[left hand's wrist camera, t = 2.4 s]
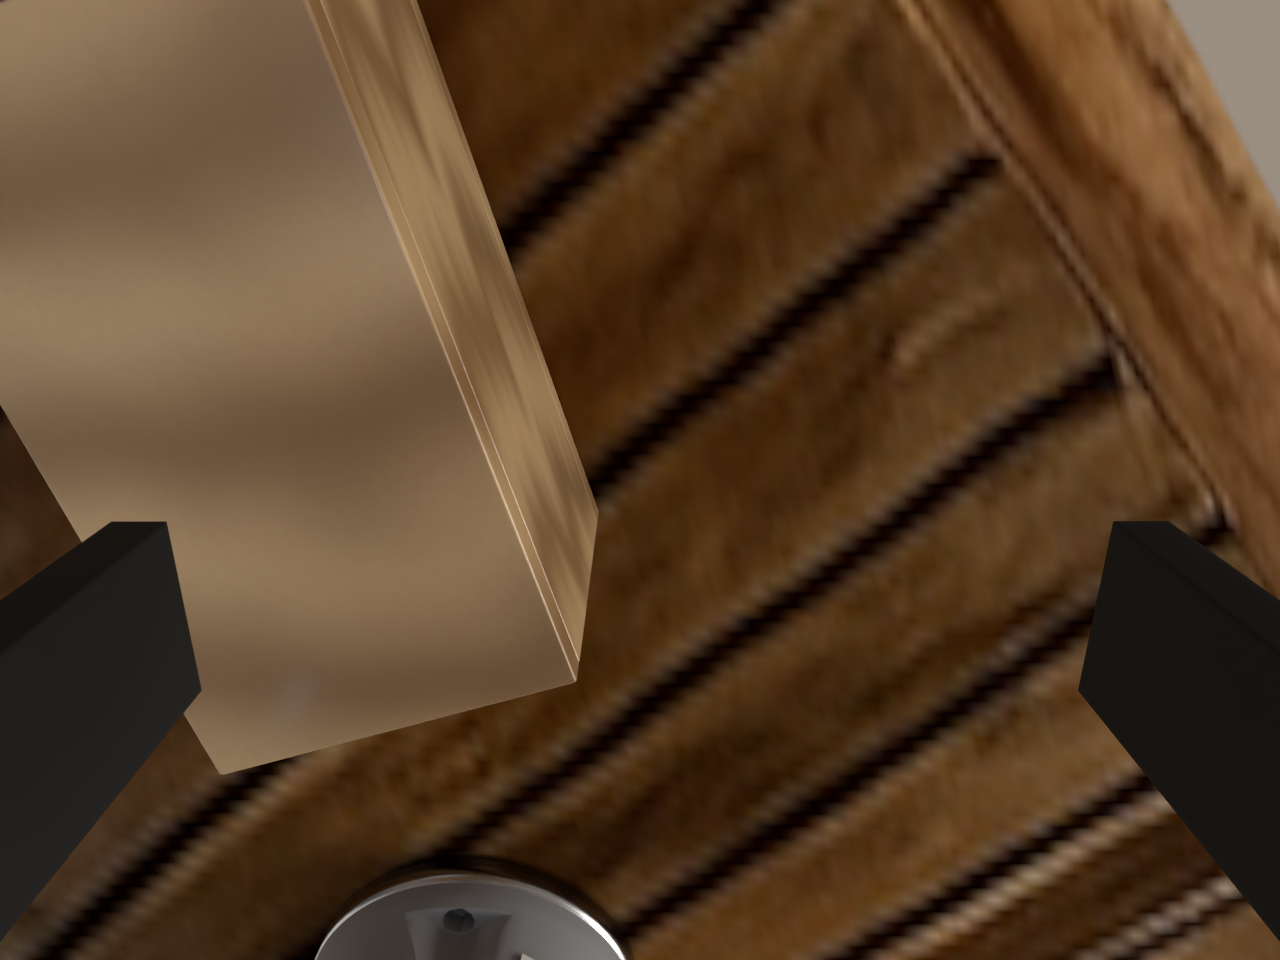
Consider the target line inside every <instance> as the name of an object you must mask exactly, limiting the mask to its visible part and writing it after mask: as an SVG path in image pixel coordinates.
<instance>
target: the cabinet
mask: <svg viewBox="0 0 1280 960" xmlns="http://www.w3.org/2000/svg"><path fill="white" fill-rule="evenodd" d="M0 405H1V407H2V409H3V410H4V412H5V414H6V415H7V417H8V419H9V420H10V422H11V424H12V426H13V427H14V429H15V431H16V432H17V434H18V436H19V437H20V439H21V441H22V442H23V444H24V446H25V447H26V449H27V451H28V452H29V454H30V456H31V457H32V459H33V461H34V463H35V464H36V466H37V468H38V469H39V471H40V473H41V474H42V476H43V478H44V479H45V481H46V483H47V484H48V486H49V488H50V489H51V491H52V493H53V494H54V496H55V498H56V500H57V501H58V503H59V505H60V506H61V508H62V510H63V511H64V513H65V515H66V516H67V518H68V520H69V521H70V523H71V525H72V526H73V528H74V530H75V532H76V533H77V535H78V537H79V538H80V540H81V542H83V541H85V540H86V539H87V538H89V537H90V536H92V535H93V534H94V533H96V532H97V531H99V530H100V529H101V528H103V527H104V526H106V525H107V524H108V523H110V522H111V521H167V526H168V531H169V535H170V540H171V545H172V550H173V555H174V559H175V564H176V569H177V574H178V579H179V583H180V588H181V593H182V598H183V602H184V607H185V612H186V617H187V622H188V626H189V631H190V636H191V641H192V646H193V650H194V655H195V660H196V665H197V670H198V674H199V679H200V684H201V689H202V691H201V692H200V693H199V695H198V696H197V697H196V698H195V700H194V701H193V702H192V703H191V704H190V706H189V707H188V708H187V709H186V711H185V712H184V715H185V717H186V718H187V720H188V722H189V723H190V725H191V727H192V728H193V730H194V732H195V733H196V735H197V737H198V738H199V740H200V742H201V743H202V745H203V747H204V749H205V750H206V752H207V754H208V755H209V757H210V759H211V760H212V762H213V764H214V765H215V767H216V769H217V770H218V772H219V774H221V775H224V774H228V773H231V772H235V771H239V770H243V769H247V768H251V767H254V766H258V765H262V764H266V763H270V762H273V761H277V760H281V759H285V758H289V757H293V756H296V755H300V754H304V753H308V752H312V751H315V750H319V749H323V748H327V747H331V746H335V745H338V744H342V743H346V742H350V741H354V740H358V739H361V738H365V737H369V736H373V735H377V734H380V733H384V732H388V731H392V730H396V729H400V728H403V727H407V726H411V725H415V724H419V723H422V722H426V721H430V720H434V719H438V718H442V717H445V716H449V715H453V714H457V713H461V712H465V711H468V710H472V709H476V708H480V707H484V706H487V705H491V704H495V703H499V702H503V701H507V700H510V699H514V698H518V697H522V696H526V695H529V694H533V693H537V692H541V691H545V690H549V689H552V688H556V687H560V686H564V685H568V684H571V683H574V682H576V681H577V673H578V665H579V661H580V653H581V645H582V638H583V630H584V622H585V614H586V606H587V598H588V591H589V583H590V575H591V567H592V559H593V552H594V544H595V536H596V528H597V520H598V512H599V511H598V508H597V505H596V503H595V500H594V497H593V494H592V491H591V489H590V486H589V483H588V480H587V477H586V475H585V472H584V469H583V466H582V463H581V461H580V458H579V455H578V452H577V449H576V446H575V444H574V441H573V438H572V435H571V432H570V430H569V427H568V424H567V421H566V418H565V416H564V413H563V410H562V407H561V404H560V402H559V399H558V396H557V393H556V390H555V387H554V385H553V382H552V379H551V376H550V373H549V371H548V368H547V365H546V362H545V359H544V357H543V354H542V351H541V348H540V345H539V343H538V340H537V337H536V334H535V331H534V329H533V326H532V323H531V320H530V317H529V314H528V312H527V309H526V306H525V303H524V300H523V298H522V295H521V292H520V289H519V286H518V284H517V281H516V278H515V275H514V272H513V270H512V267H511V264H510V261H509V258H508V255H507V253H506V250H505V247H504V244H503V241H502V239H501V236H500V233H499V230H498V227H497V225H496V222H495V219H494V216H493V213H492V211H491V208H490V205H489V202H488V199H487V196H486V194H485V191H484V188H483V185H482V182H481V180H480V177H479V174H478V171H477V168H476V166H475V163H474V160H473V157H472V154H471V152H470V149H469V146H468V143H467V140H466V137H465V135H464V132H463V129H462V126H461V123H460V121H459V118H458V115H457V112H456V109H455V107H454V104H453V101H452V98H451V95H450V93H449V90H448V87H447V84H446V81H445V78H444V76H443V73H442V70H441V67H440V64H439V62H438V59H437V56H436V53H435V50H434V48H433V45H432V42H431V39H430V36H429V34H428V31H427V28H426V25H425V22H424V20H423V17H422V14H421V11H420V8H419V5H418V3H417V0H3V1H1V2H0Z"/></svg>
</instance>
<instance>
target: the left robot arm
mask: <svg viewBox="0 0 1280 960" xmlns="http://www.w3.org/2000/svg"><path fill="white" fill-rule="evenodd" d="M201 691H202V689H201V684H200V679H199V674H198V670H197V665H196V660H195V655H194V650H193V646H192V641H191V636H190V631H189V626H188V622H187V617H186V612H185V607H184V602H183V598H182V593H181V588H180V583H179V579H178V574H177V569H176V564H175V559H174V555H173V550H172V545H171V540H170V535H169V531H168V526H167V521H111V522H110V523H108V524H107V525H106V526H104V527H103V528H101V529H100V530H99V531H97V532H96V533H94V534H93V535H92V536H90V537H89V538H87V539H86V540H85V541H83V542H82V543H80V544H79V545H78V546H76V547H75V548H73V549H72V550H71V551H69V552H68V553H66V554H65V555H64V556H62V557H61V558H59V559H58V560H57V561H55V562H54V563H52V564H51V565H50V566H48V567H47V568H45V569H44V570H43V571H41V572H40V573H38V574H37V575H35V576H34V577H33V578H31V579H30V580H28V581H27V582H26V583H24V584H23V585H21V586H20V587H19V588H17V589H16V590H14V591H13V592H12V593H10V594H9V595H7V596H6V597H5V598H3V599H2V600H0V941H1V940H2V939H3V937H4V936H5V935H6V934H7V932H8V931H9V930H10V929H11V927H12V926H13V925H14V924H15V922H16V921H17V920H18V919H19V917H20V916H21V915H22V914H23V912H24V911H25V910H26V909H27V908H28V906H29V905H30V904H31V903H32V901H33V900H34V899H35V898H36V896H37V895H38V894H39V893H40V891H41V890H42V889H43V888H44V886H45V885H46V884H47V883H48V881H49V880H50V879H51V878H52V876H53V875H54V874H55V873H56V871H57V870H58V869H59V868H60V866H61V865H62V864H63V863H64V861H65V860H66V859H67V858H68V856H69V855H70V854H71V853H72V851H73V850H74V849H75V848H76V846H77V845H78V844H79V843H80V842H81V840H82V839H83V838H84V837H85V835H86V834H87V833H88V832H89V830H90V829H91V828H92V827H93V825H94V824H95V823H96V822H97V820H98V819H99V818H100V817H101V815H102V814H103V813H104V812H105V810H106V809H107V808H108V807H109V805H110V804H111V803H112V802H113V800H114V799H115V798H116V797H117V795H118V794H119V793H120V792H121V790H122V789H123V788H124V787H125V785H126V784H127V783H128V782H129V780H130V779H131V778H132V777H133V775H134V774H135V773H136V772H137V771H138V769H139V768H140V767H141V766H142V764H143V763H144V762H145V761H146V759H147V758H148V757H149V756H150V754H151V753H152V752H153V751H154V749H155V748H156V747H157V746H158V744H159V743H160V742H161V741H162V739H163V738H164V737H165V736H166V734H167V733H168V732H169V731H170V729H171V728H172V727H173V726H174V724H175V723H176V722H177V721H178V719H179V718H180V717H181V716H182V714H183V713H184V712H185V711H186V709H187V708H188V707H189V706H190V704H191V703H192V702H193V701H194V700H195V698H196V697H197V696H198V695H199V693H200V692H201ZM1078 691H1079V692H1080V693H1081V695H1082V696H1083V697H1084V698H1085V700H1086V701H1087V702H1088V703H1089V704H1090V706H1091V707H1092V708H1093V709H1094V711H1095V712H1096V713H1097V714H1098V716H1099V717H1100V718H1101V719H1102V721H1103V722H1104V723H1105V724H1106V726H1107V727H1108V728H1109V729H1110V731H1111V732H1112V733H1113V734H1114V736H1115V737H1116V738H1117V739H1118V741H1119V742H1120V743H1121V744H1122V746H1123V747H1124V748H1125V749H1126V751H1127V752H1128V753H1129V754H1130V756H1131V757H1132V758H1133V759H1134V761H1135V762H1136V763H1137V764H1138V766H1139V767H1140V768H1141V769H1142V771H1143V772H1144V773H1145V774H1146V775H1147V777H1148V778H1149V779H1150V780H1151V782H1152V783H1153V784H1154V785H1155V787H1156V788H1157V789H1158V790H1159V792H1160V793H1161V794H1162V795H1163V797H1164V798H1165V799H1166V800H1167V802H1168V803H1169V804H1170V805H1171V807H1172V808H1173V809H1174V810H1175V812H1176V813H1177V814H1178V815H1179V817H1180V818H1181V819H1182V820H1183V822H1184V823H1185V824H1186V825H1187V827H1188V828H1189V829H1190V830H1191V832H1192V833H1193V834H1194V835H1195V837H1196V838H1197V839H1198V840H1199V842H1200V843H1201V844H1202V845H1203V846H1204V848H1205V849H1206V850H1207V851H1208V853H1209V854H1210V855H1211V856H1212V858H1213V859H1214V860H1215V861H1216V863H1217V864H1218V865H1219V866H1220V868H1221V869H1222V870H1223V871H1224V873H1225V874H1226V875H1227V876H1228V878H1229V879H1230V880H1231V881H1232V883H1233V884H1234V885H1235V886H1236V888H1237V889H1238V890H1239V891H1240V893H1241V894H1242V895H1243V896H1244V898H1245V899H1246V900H1247V901H1248V903H1249V904H1250V905H1251V906H1252V908H1253V909H1254V910H1255V911H1256V912H1257V914H1258V915H1259V916H1260V917H1261V919H1262V920H1263V921H1264V922H1265V924H1266V925H1267V926H1268V927H1269V929H1270V930H1271V931H1272V932H1273V934H1274V935H1275V936H1276V937H1277V939H1278V940H1279V941H1280V600H1278V599H1277V598H1275V597H1274V596H1273V595H1271V594H1270V593H1268V592H1267V591H1266V590H1264V589H1263V588H1261V587H1260V586H1259V585H1257V584H1256V583H1254V582H1253V581H1252V580H1250V579H1249V578H1247V577H1246V576H1245V575H1243V574H1242V573H1240V572H1239V571H1237V570H1236V569H1235V568H1233V567H1232V566H1230V565H1229V564H1228V563H1226V562H1225V561H1223V560H1222V559H1221V558H1219V557H1218V556H1216V555H1215V554H1214V553H1212V552H1211V551H1209V550H1208V549H1207V548H1205V547H1204V546H1202V545H1201V544H1200V543H1198V542H1197V541H1195V540H1194V539H1193V538H1191V537H1190V536H1188V535H1187V534H1186V533H1184V532H1183V531H1181V530H1180V529H1179V528H1177V527H1176V526H1174V525H1173V524H1172V523H1170V522H1169V521H1113V526H1112V531H1111V535H1110V540H1109V545H1108V550H1107V555H1106V559H1105V564H1104V569H1103V574H1102V579H1101V583H1100V588H1099V593H1098V598H1097V602H1096V607H1095V612H1094V617H1093V622H1092V626H1091V631H1090V636H1089V641H1088V646H1087V650H1086V655H1085V660H1084V665H1083V670H1082V674H1081V679H1080V684H1079V689H1078ZM315 960H634V959H633V956H632V953H631V950H630V948H629V946H628V944H627V942H626V940H625V937H624V936H623V934H622V933H621V931H620V930H619V928H618V927H617V925H616V924H615V923H614V922H613V920H612V919H611V918H610V917H609V916H608V914H607V913H606V912H605V911H604V910H603V909H602V908H601V907H600V906H598V905H597V904H596V903H595V902H594V901H592V900H591V899H590V898H589V897H587V896H586V895H584V894H583V893H582V892H580V891H579V890H577V889H576V888H574V887H572V886H570V885H569V884H567V883H565V882H563V881H561V880H559V879H557V878H555V877H553V876H550V875H548V874H545V873H543V872H540V871H537V870H534V869H531V868H528V867H524V866H521V865H517V864H512V863H507V862H502V861H494V860H486V859H447V860H437V861H431V862H426V863H420V864H416V865H413V866H409V867H406V868H403V869H400V870H397V871H395V872H392V873H389V874H387V875H385V876H383V877H381V878H379V879H377V880H375V881H374V882H372V883H370V884H369V885H367V886H365V887H364V888H363V889H361V890H360V891H359V892H357V893H356V894H355V895H353V896H352V897H351V898H350V899H349V900H348V901H347V902H346V903H345V904H344V905H343V906H342V908H341V909H340V910H339V911H338V912H337V914H336V915H335V917H334V918H333V920H332V921H331V923H330V925H329V927H328V929H327V931H326V933H325V935H324V938H323V940H322V943H321V945H320V948H319V950H318V953H317V955H316V958H315Z"/></svg>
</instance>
